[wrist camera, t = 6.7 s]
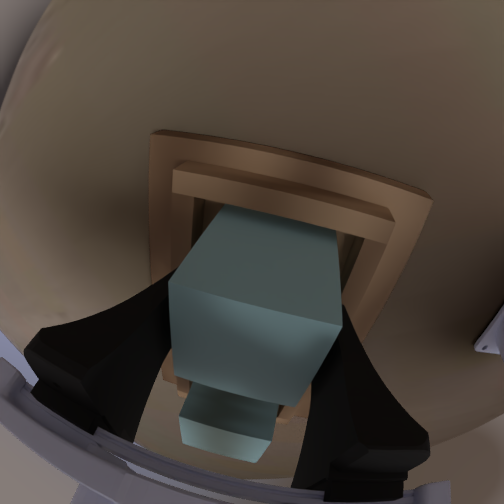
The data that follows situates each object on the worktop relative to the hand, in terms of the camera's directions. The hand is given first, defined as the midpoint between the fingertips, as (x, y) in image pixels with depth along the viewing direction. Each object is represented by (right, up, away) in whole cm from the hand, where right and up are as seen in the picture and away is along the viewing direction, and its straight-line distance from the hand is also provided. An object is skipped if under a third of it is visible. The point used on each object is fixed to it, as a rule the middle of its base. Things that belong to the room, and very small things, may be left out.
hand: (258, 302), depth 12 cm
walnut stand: (0, -2, +6) cm, 6 cm away
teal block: (+1, +2, +2) cm, 3 cm away
